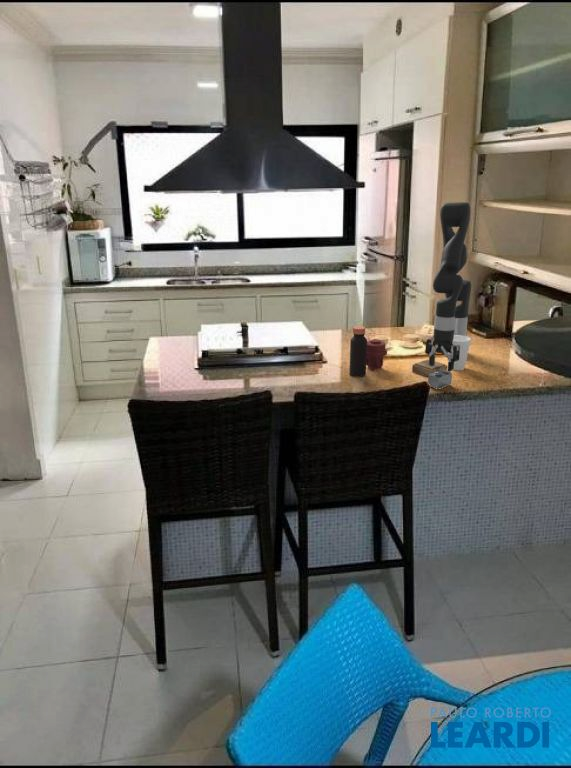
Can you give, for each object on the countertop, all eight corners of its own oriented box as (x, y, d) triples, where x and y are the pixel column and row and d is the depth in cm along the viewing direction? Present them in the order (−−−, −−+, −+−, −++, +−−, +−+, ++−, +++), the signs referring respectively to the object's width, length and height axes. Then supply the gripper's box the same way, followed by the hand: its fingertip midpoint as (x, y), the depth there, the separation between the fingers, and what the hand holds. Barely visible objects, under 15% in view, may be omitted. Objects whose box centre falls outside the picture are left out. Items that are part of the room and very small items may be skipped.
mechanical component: (386, 365, 259) (385, 372, 249) (363, 364, 261) (361, 371, 251) (388, 337, 254) (387, 344, 245) (364, 336, 256) (362, 343, 247)
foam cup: (440, 368, 254) (443, 338, 250) (451, 362, 261) (454, 334, 256) (461, 372, 248) (464, 342, 244) (472, 367, 255) (475, 338, 250)
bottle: (346, 373, 250) (347, 326, 243) (360, 371, 252) (362, 324, 245) (354, 378, 244) (356, 330, 237) (369, 375, 246) (370, 328, 239)
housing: (440, 382, 239) (441, 367, 237) (450, 385, 235) (452, 371, 233) (427, 386, 234) (428, 372, 232) (438, 390, 230) (439, 375, 228)
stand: (427, 366, 256) (428, 358, 255) (446, 372, 249) (447, 364, 248) (412, 371, 251) (412, 363, 249) (431, 377, 243) (431, 369, 242)
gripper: (466, 329, 223) (462, 370, 229) (435, 322, 234) (432, 362, 239) (453, 332, 219) (449, 374, 224) (422, 325, 229) (419, 365, 235)
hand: (440, 368), depth 232 cm, fingers open, 8 cm apart
